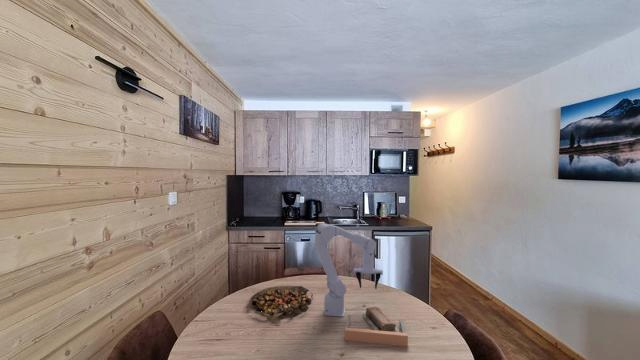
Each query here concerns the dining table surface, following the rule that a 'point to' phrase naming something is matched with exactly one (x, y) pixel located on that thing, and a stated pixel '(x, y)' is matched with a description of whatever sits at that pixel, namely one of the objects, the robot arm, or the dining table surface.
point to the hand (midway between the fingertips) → (368, 287)
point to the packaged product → (379, 320)
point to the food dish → (281, 302)
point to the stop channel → (376, 335)
